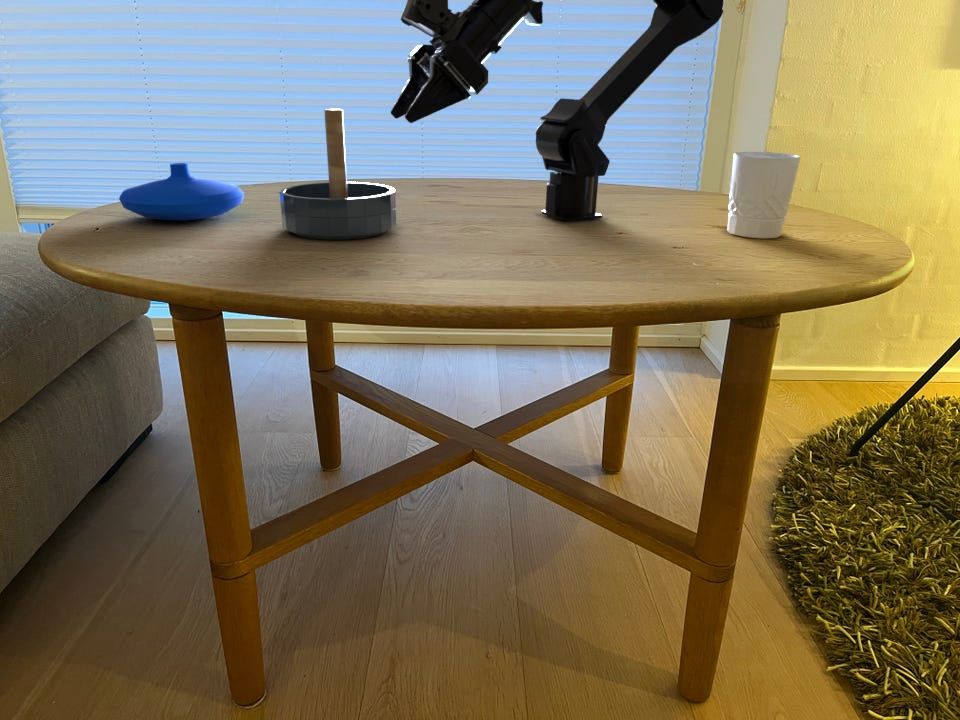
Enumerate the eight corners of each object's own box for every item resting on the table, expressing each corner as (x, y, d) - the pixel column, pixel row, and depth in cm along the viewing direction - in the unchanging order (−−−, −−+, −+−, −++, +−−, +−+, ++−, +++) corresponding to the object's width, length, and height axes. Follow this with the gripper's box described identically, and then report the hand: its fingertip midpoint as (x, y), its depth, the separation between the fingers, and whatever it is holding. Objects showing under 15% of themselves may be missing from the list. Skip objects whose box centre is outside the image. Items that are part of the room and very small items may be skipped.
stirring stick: (337, 219, 93) (330, 108, 87) (367, 223, 90) (362, 109, 85) (312, 225, 88) (303, 109, 83) (343, 230, 86) (336, 110, 81)
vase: (95, 224, 90) (84, 168, 87) (171, 204, 104) (163, 155, 102) (204, 231, 87) (197, 173, 84) (267, 210, 101) (262, 160, 99)
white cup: (787, 231, 93) (801, 154, 90) (784, 242, 87) (799, 159, 83) (726, 225, 96) (737, 150, 93) (718, 236, 90) (730, 155, 86)
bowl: (375, 216, 99) (373, 180, 97) (412, 235, 87) (411, 195, 85) (273, 223, 92) (269, 185, 91) (298, 245, 81) (295, 202, 79)
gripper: (423, -23, 90) (342, 67, 91) (462, -44, 74) (362, 67, 75) (480, 46, 95) (402, 130, 96) (528, 40, 79) (434, 142, 80)
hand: (399, 118), depth 87 cm, fingers open, 9 cm apart
